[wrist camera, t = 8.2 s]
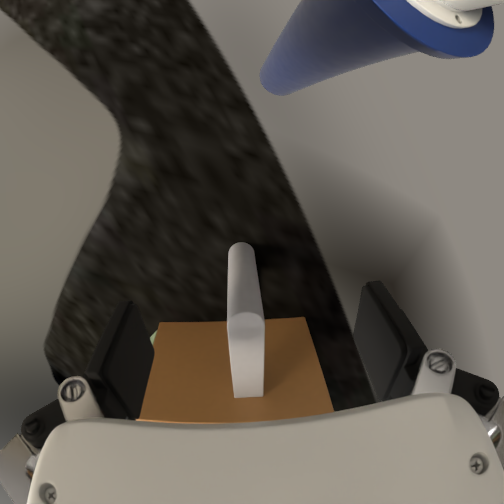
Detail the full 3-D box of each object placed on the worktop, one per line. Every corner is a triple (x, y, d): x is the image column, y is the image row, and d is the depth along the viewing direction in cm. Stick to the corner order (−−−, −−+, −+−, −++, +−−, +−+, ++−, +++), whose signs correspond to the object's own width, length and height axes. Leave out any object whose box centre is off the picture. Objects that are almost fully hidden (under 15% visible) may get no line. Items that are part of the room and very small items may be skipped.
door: (153, 229, 22) (91, 337, 11) (302, 223, 23) (363, 329, 12) (167, 306, 26) (138, 424, 14) (296, 301, 26) (332, 419, 15)
